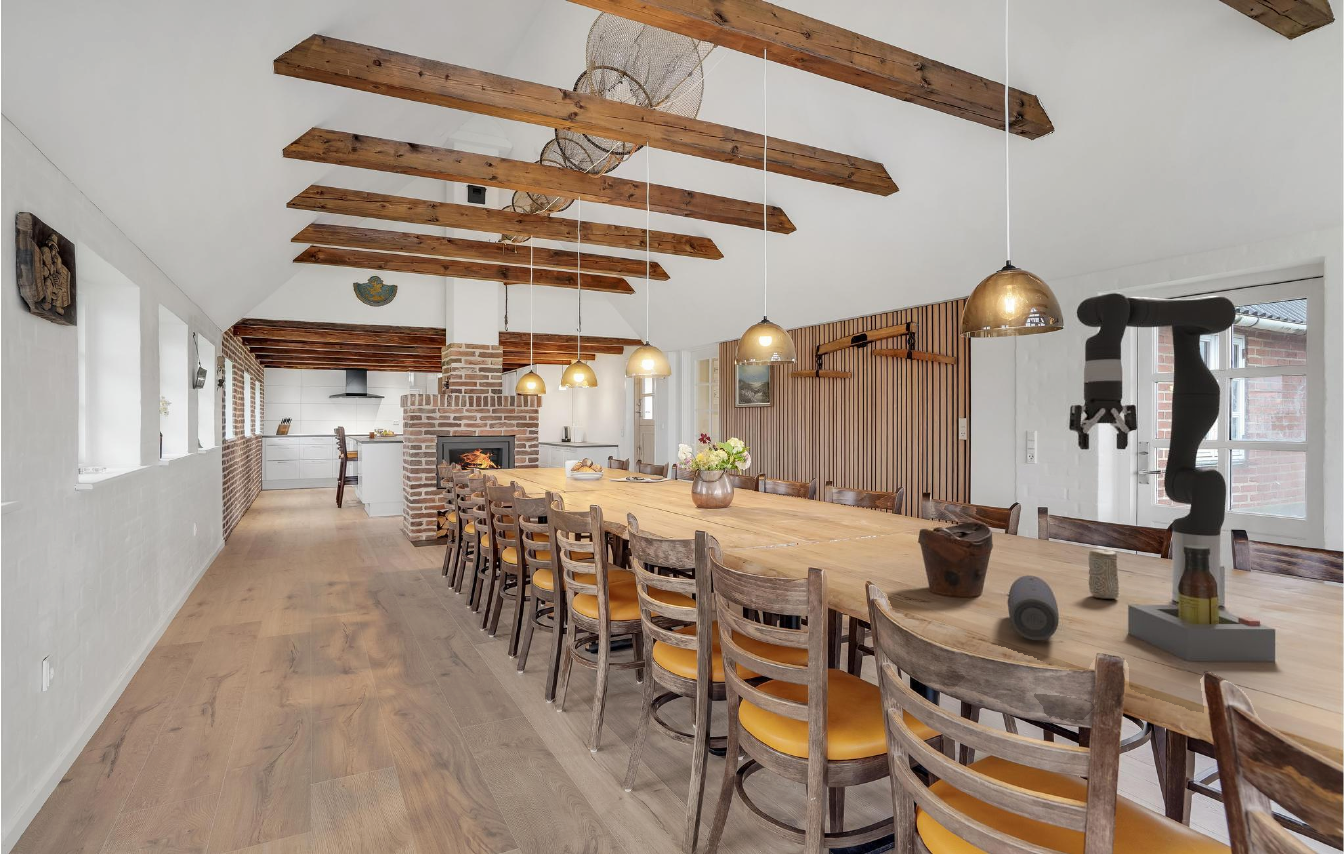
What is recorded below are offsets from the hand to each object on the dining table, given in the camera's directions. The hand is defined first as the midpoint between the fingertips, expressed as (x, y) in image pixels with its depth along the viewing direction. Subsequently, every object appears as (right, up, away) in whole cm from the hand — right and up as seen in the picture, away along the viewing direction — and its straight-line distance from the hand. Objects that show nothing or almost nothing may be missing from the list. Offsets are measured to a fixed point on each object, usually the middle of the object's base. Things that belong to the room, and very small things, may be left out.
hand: (1102, 449), depth 152 cm
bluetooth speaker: (-24, -38, -14) cm, 47 cm away
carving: (+8, -38, +12) cm, 41 cm away
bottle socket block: (+3, -38, -24) cm, 45 cm away
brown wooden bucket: (-27, -38, +18) cm, 50 cm away
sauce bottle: (+3, -38, -24) cm, 45 cm away
